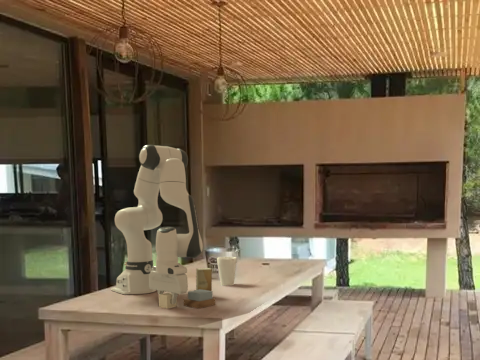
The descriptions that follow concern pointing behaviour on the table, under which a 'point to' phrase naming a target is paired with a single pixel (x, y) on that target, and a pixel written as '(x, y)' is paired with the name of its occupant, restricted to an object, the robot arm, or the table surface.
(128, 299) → the table surface
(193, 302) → the walnut base brick
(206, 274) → the skincare box
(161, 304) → the cream brick
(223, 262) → the foam cup
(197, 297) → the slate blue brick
